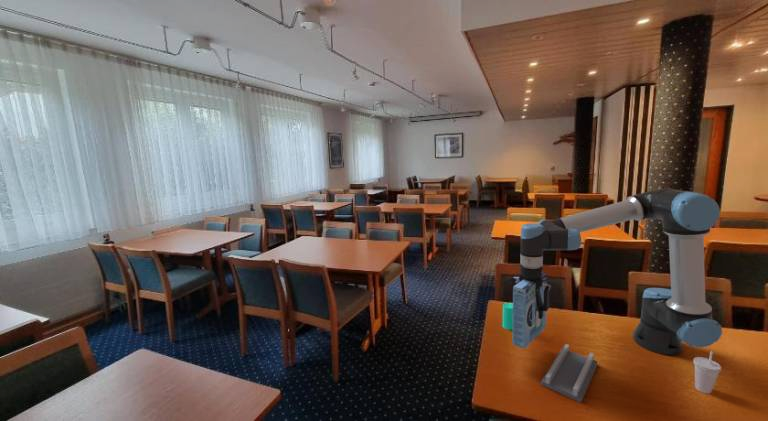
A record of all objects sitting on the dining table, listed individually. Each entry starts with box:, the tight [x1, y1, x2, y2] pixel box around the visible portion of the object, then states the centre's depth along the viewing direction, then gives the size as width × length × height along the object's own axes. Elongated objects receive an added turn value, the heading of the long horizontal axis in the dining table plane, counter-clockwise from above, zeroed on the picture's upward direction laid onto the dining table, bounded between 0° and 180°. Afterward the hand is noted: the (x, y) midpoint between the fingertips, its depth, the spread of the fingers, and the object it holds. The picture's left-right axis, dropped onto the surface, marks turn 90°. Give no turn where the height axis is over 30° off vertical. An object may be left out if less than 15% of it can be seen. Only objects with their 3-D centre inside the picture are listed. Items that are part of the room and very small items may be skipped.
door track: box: [540, 343, 598, 403], centre depth 112 cm, size 12×24×4 cm, turn 136°
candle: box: [502, 302, 513, 331], centre depth 144 cm, size 6×6×12 cm
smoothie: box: [692, 350, 722, 395], centre depth 102 cm, size 6×6×14 cm
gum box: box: [511, 272, 548, 350], centre depth 119 cm, size 20×5×23 cm, turn 132°
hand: (529, 322), depth 120 cm, fingers closed on gum box, 5 cm apart
